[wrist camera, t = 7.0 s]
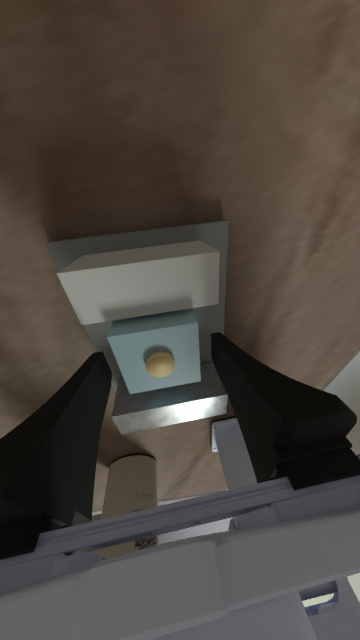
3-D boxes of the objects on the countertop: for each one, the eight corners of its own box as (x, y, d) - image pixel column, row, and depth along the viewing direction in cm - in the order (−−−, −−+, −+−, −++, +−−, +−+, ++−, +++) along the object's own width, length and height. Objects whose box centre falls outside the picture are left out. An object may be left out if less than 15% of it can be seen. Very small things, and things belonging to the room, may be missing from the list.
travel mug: (128, 477, 34) (111, 695, 19) (99, 465, 30) (46, 733, 14) (164, 462, 33) (177, 681, 17) (139, 448, 28) (127, 718, 13)
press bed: (218, 381, 22) (234, 421, 18) (123, 399, 22) (116, 445, 17) (223, 219, 13) (260, 224, 9) (51, 240, 12) (-2, 257, 8)
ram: (213, 380, 20) (226, 413, 17) (126, 396, 20) (121, 434, 16) (213, 361, 19) (227, 394, 15) (118, 378, 18) (111, 416, 15)
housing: (188, 338, 17) (202, 385, 12) (135, 347, 16) (129, 399, 12) (183, 288, 14) (199, 326, 10) (120, 298, 14) (105, 341, 9)
